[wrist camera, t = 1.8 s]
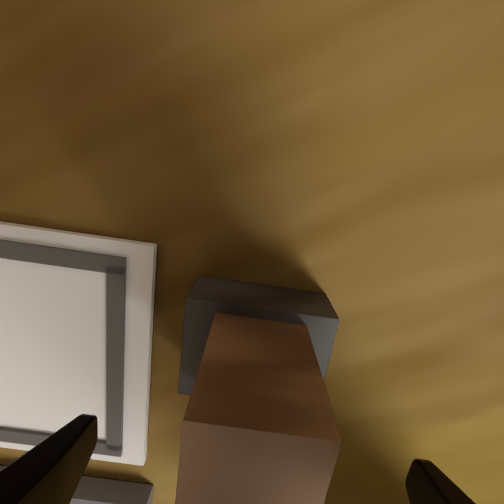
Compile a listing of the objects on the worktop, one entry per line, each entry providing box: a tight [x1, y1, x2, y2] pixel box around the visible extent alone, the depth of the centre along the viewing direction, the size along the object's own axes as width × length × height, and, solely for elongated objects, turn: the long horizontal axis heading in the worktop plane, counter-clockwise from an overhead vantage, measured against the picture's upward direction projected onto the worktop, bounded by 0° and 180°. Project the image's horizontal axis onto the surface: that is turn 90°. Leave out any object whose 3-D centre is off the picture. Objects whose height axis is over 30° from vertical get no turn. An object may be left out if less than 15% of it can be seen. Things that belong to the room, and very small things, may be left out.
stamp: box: [175, 275, 342, 504], centre depth 11 cm, size 6×4×8 cm
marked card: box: [0, 221, 157, 466], centre depth 14 cm, size 12×13×1 cm
